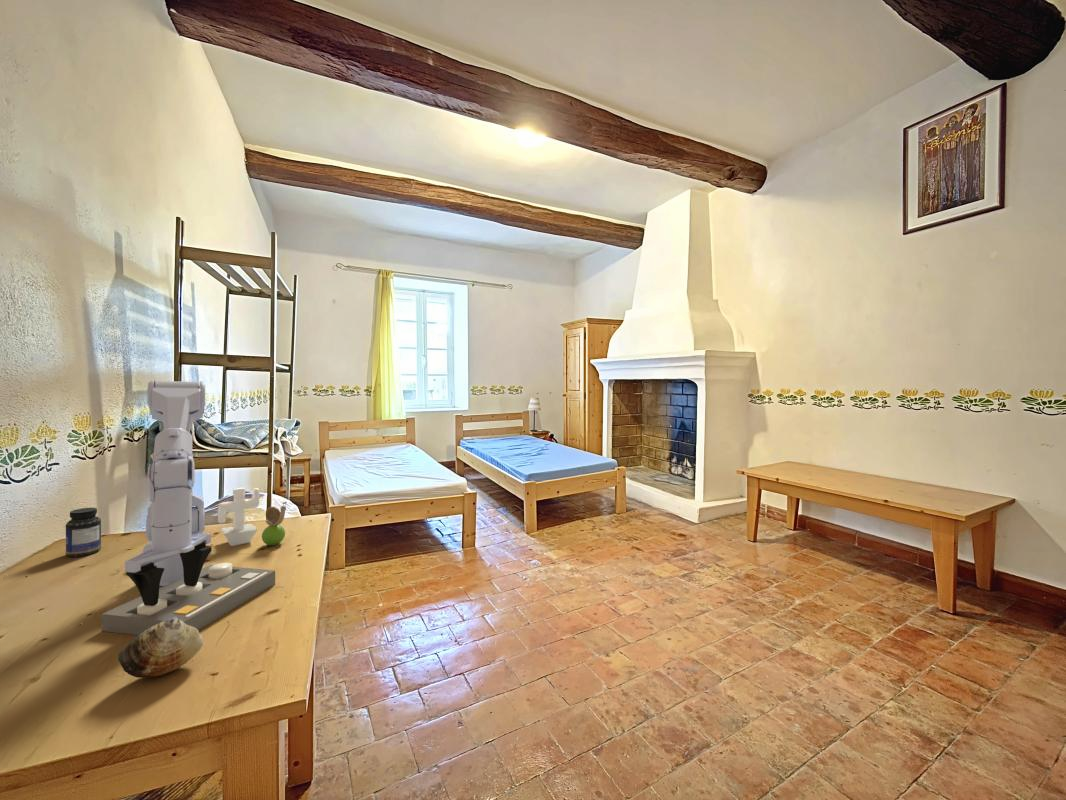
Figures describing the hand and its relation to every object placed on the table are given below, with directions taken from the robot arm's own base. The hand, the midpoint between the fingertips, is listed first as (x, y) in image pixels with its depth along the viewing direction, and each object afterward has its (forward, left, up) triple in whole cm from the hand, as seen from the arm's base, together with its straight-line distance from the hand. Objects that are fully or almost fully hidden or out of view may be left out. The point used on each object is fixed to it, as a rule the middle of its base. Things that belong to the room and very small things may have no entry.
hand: (171, 594), depth 79 cm
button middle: (0, +4, -3) cm, 5 cm away
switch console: (+2, +3, -4) cm, 5 cm away
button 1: (0, -3, -3) cm, 5 cm away
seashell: (+15, -15, -4) cm, 21 cm away
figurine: (-18, +34, -4) cm, 39 cm away
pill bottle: (-49, +20, -4) cm, 53 cm away
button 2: (0, +10, -2) cm, 11 cm away
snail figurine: (-7, +34, -4) cm, 35 cm away
